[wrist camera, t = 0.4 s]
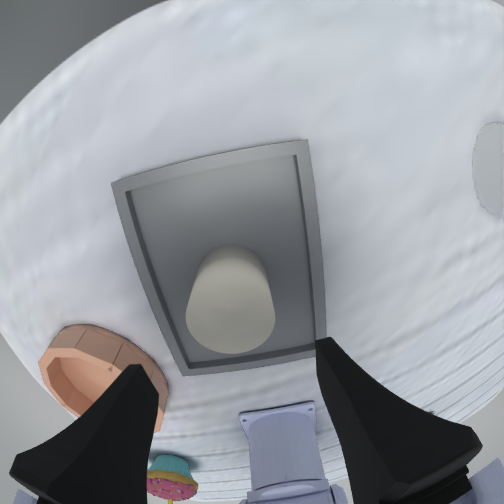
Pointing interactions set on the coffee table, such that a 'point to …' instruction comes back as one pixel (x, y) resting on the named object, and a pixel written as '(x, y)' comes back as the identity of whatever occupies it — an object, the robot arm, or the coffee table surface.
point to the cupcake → (171, 479)
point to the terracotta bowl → (93, 367)
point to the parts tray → (230, 233)
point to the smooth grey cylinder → (231, 301)
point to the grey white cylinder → (490, 168)
